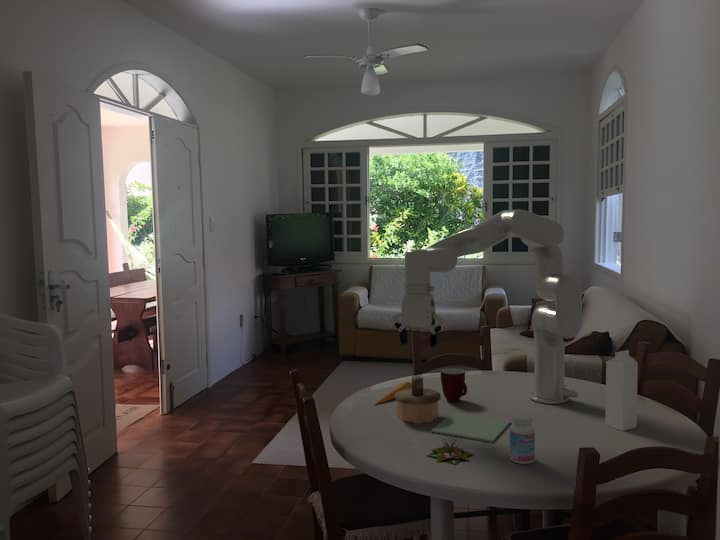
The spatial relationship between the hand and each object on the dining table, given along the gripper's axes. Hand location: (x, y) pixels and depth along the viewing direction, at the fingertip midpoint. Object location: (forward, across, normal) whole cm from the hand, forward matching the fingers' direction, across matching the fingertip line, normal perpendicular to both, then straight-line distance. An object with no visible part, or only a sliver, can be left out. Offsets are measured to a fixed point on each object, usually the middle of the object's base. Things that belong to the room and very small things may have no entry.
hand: (418, 345), depth 183 cm
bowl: (+22, 0, +1) cm, 22 cm away
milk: (+23, -56, -17) cm, 62 cm away
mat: (+22, -18, +3) cm, 29 cm away
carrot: (+23, +16, -13) cm, 31 cm away
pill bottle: (+22, -37, +20) cm, 47 cm away
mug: (+22, -5, -19) cm, 30 cm away
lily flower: (+23, -20, +25) cm, 39 cm away
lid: (+16, 0, +1) cm, 16 cm away
